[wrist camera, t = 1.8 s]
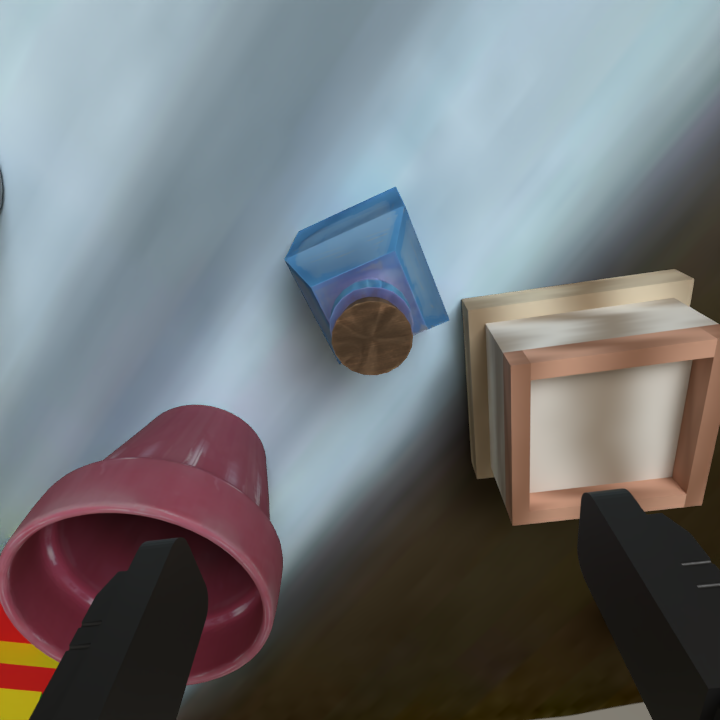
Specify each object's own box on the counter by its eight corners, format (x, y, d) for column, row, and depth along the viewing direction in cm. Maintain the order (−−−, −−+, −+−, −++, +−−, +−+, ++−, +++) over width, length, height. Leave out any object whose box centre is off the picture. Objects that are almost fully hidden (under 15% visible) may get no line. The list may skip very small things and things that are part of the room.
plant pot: (323, 508, 39) (307, 674, 27) (158, 538, 40) (79, 707, 29) (265, 351, 32) (214, 480, 21) (73, 394, 34) (-72, 536, 22)
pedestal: (471, 461, 37) (496, 539, 30) (461, 299, 31) (490, 350, 24) (649, 440, 36) (716, 515, 29) (674, 269, 30) (765, 313, 23)
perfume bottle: (395, 186, 28) (418, 232, 17) (433, 282, 30) (473, 375, 20) (298, 231, 29) (263, 301, 18) (342, 319, 31) (334, 426, 21)
